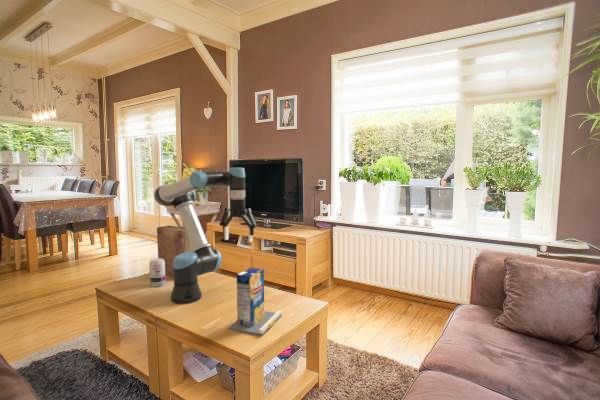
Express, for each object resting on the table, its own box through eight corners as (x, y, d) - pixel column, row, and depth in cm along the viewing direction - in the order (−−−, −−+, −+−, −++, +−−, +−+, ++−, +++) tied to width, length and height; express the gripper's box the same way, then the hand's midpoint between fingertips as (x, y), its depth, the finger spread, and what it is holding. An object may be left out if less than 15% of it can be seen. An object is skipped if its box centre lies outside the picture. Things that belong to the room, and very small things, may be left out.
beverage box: (237, 324, 144) (236, 274, 142) (251, 314, 154) (251, 267, 152) (250, 327, 141) (250, 276, 139) (264, 317, 151) (264, 269, 149)
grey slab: (228, 329, 141) (228, 324, 141) (250, 310, 160) (250, 305, 160) (263, 336, 136) (263, 330, 136) (282, 316, 155) (282, 310, 154)
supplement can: (160, 281, 201) (159, 257, 200) (168, 284, 196) (167, 259, 195) (147, 285, 195) (146, 260, 193) (155, 288, 190) (154, 262, 188)
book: (196, 275, 212) (195, 229, 210) (184, 279, 205) (183, 231, 202) (170, 269, 226) (169, 225, 223) (158, 272, 218) (156, 227, 215)
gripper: (212, 198, 167) (212, 240, 169) (256, 200, 159) (257, 244, 161) (220, 197, 174) (221, 237, 176) (263, 198, 166) (264, 240, 168)
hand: (238, 240), depth 168 cm, fingers open, 13 cm apart
